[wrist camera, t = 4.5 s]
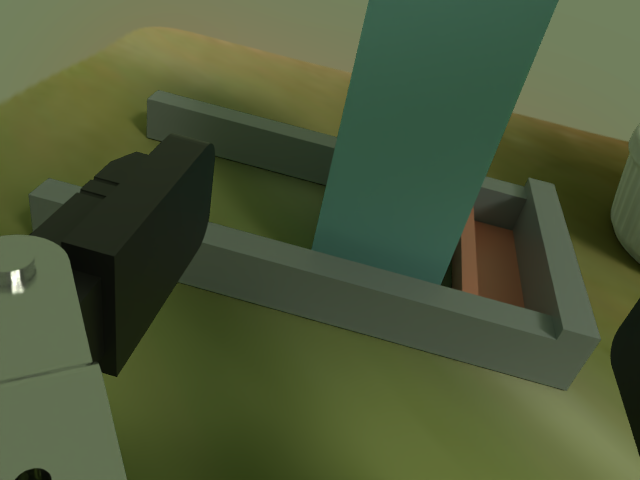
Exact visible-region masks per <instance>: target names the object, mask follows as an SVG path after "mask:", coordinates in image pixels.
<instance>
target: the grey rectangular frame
mask: <svg viewBox="0 0 640 480" xmlns="http://www.w3.org/2000/svg"><path fill="white" fill-rule="evenodd" d="M171 133H175V134H179V135H182V136H186V137H190V138H193V139H197V140H201V141H205V142H208V143H212V144H213V145H214V148H215V156H218V157H222V158H226V159H230V160H233V161H237V162H241V163H244V164H248V165H252V166H256V167H259V168H263V169H267V170H271V171H274V172H278V173H282V174H286V175H289V176H293V177H297V178H300V179H304V180H308V181H312V182H315V183H319V184H323V185H326V184H327V180H328V176H329V171H330V167H331V163H332V158H333V154H334V150H335V145H336V141H337V137H334V136H331V135H327V134H323V133H319V132H315V131H312V130H308V129H304V128H300V127H296V126H293V125H289V124H285V123H281V122H277V121H274V120H270V119H266V118H262V117H259V116H255V115H251V114H247V113H243V112H240V111H236V110H232V109H228V108H224V107H221V106H217V105H213V104H209V103H205V102H202V101H198V100H194V99H190V98H187V97H183V96H179V95H175V94H171V93H168V92H164V91H160V90H158V91H156V92H155V93H154V94H153V95H151V96H150V97H149V98H148V99H147V137H148V138H151V139H155V140H159V141H163V140H164V139H165V138H166V137H167V136H168V135H169V134H171ZM81 188H82V187H80V186H76V185H73V184H69V183H65V182H62V181H58V180H54V179H51V178H48V179H47V180H46V181H45V182H43V183H42V184H41V185H40V186H38V187H37V188H36V189H35V190H33V191H32V192H31V193H30V194H28V195H29V203H30V211H31V219H32V227H33V231H34V230H35V229H37V228H38V227H39V226H40V225H41V224H42V223H43V222H44V221H45V220H47V219H48V218H49V217H50V216H51V215H52V214H53V213H54V212H55V211H57V210H58V209H59V208H60V207H61V206H62V205H63V204H64V203H65V202H67V201H68V200H69V199H70V198H71V197H72V196H73V195H74V194H75V193H77V192H78V193H80V189H81ZM178 282H180V283H183V284H187V285H191V286H194V287H198V288H201V289H205V290H208V291H212V292H216V293H219V294H223V295H226V296H230V297H233V298H237V299H241V300H244V301H248V302H251V303H255V304H258V305H262V306H266V307H269V308H273V309H276V310H280V311H283V312H287V313H291V314H294V315H298V316H301V317H305V318H308V319H312V320H316V321H319V322H323V323H326V324H330V325H334V326H337V327H341V328H344V329H348V330H351V331H355V332H359V333H362V334H366V335H369V336H373V337H376V338H380V339H384V340H387V341H391V342H394V343H398V344H401V345H405V346H409V347H412V348H416V349H419V350H423V351H426V352H430V353H434V354H437V355H441V356H444V357H448V358H451V359H455V360H459V361H462V362H466V363H469V364H473V365H477V366H480V367H484V368H487V369H491V370H494V371H498V372H502V373H505V374H509V375H512V376H516V377H519V378H523V379H527V380H530V381H534V382H537V383H541V384H544V385H548V386H552V387H555V388H559V389H562V390H567V389H568V387H569V386H570V384H571V383H572V382H573V380H574V379H575V377H576V376H577V374H578V373H579V371H580V370H581V368H582V367H583V365H584V364H585V362H586V361H587V359H588V358H589V356H590V355H591V353H592V352H593V351H594V349H595V348H596V346H597V345H598V343H599V342H600V340H601V338H600V335H599V331H598V328H597V325H596V321H595V318H594V315H593V311H592V308H591V305H590V301H589V298H588V295H587V292H586V288H585V285H584V282H583V278H582V275H581V272H580V268H579V265H578V262H577V258H576V255H575V252H574V248H573V245H572V242H571V239H570V235H569V232H568V229H567V225H566V222H565V219H564V215H563V212H562V209H561V205H560V202H559V199H558V195H557V192H556V189H555V185H554V184H552V183H548V182H544V181H540V180H536V179H533V178H528V180H527V182H526V184H525V186H520V185H516V184H512V183H509V182H505V181H501V180H497V179H493V178H490V177H485V179H484V181H483V184H482V186H481V189H480V191H479V194H478V196H477V198H476V201H475V203H474V206H473V208H472V210H471V213H470V215H469V218H468V220H467V223H466V225H465V227H464V230H463V232H462V235H461V237H460V239H459V242H458V244H457V247H456V249H455V251H454V254H453V256H452V288H449V287H445V286H441V285H438V284H434V283H431V282H427V281H423V280H420V279H416V278H412V277H409V276H405V275H401V274H398V273H394V272H390V271H387V270H383V269H379V268H376V267H372V266H368V265H365V264H361V263H357V262H354V261H350V260H347V259H343V258H339V257H336V256H332V255H328V254H325V253H321V252H317V251H314V250H310V249H306V248H303V247H299V246H295V245H292V244H288V243H284V242H281V241H277V240H274V239H270V238H266V237H263V236H259V235H255V234H252V233H248V232H244V231H241V230H237V229H233V228H230V227H226V226H222V225H219V224H215V223H211V222H208V226H207V230H206V233H205V236H204V239H203V241H202V244H201V246H200V248H199V250H198V251H197V253H196V254H195V256H194V257H193V259H192V261H191V262H190V264H189V265H188V267H187V268H186V270H185V271H184V273H183V275H182V276H181V278H180V279H179V281H178Z"/></svg>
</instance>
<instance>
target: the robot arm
mask: <svg viewBox="0 0 640 480" xmlns="http://www.w3.org/2000/svg"><path fill="white" fill-rule="evenodd" d="M214 162H215V148H214V145H213V144H212V143H208V142H205V141H201V140H197V139H193V138H190V137H186V136H182V135H179V134H175V133H171V134H169V135H168V136H167V137H166V138H165V139H164V140H163V141H162V142H161V143H160V144H159V145H158V146H157V147H156V148H155V149H154V150H153V151H152V152H151V153H150V154H149V155H147V154H143V153H140V152H134V153H132V154H129V155H126V156H124V157H121V158H119V159H116V160H114V161H111V162H110V163H109V164H108V165H106V166H105V167H104V168H103V169H102V170H101V171H100V172H99V173H98V174H97V175H95V176H94V180H90V181H89V182H88V183H87V184H85V185H84V186H83V187H82V188H81V189H80V193H78V192H77V193H75V194H74V195H73V196H72V197H71V198H70V199H69V200H68V201H67V202H65V203H64V204H63V205H62V206H61V207H60V208H59V209H58V210H57V211H55V212H54V213H53V214H52V215H51V216H50V217H49V218H48V219H47V220H45V221H44V222H43V223H42V224H41V225H40V226H39V227H38V228H37V229H35V230H34V231H33V232H32V233H31V234H30V235H5V236H0V480H127V478H126V473H125V469H124V465H123V461H122V456H121V452H120V448H119V444H118V439H117V435H116V431H115V427H114V423H113V418H112V414H111V410H110V406H109V401H108V397H107V393H106V389H105V384H104V380H103V376H102V373H105V374H108V375H112V376H115V377H117V376H118V374H119V373H120V371H121V370H122V368H123V366H124V365H125V363H126V362H127V360H128V359H129V357H130V356H131V354H132V352H133V351H134V349H135V348H136V346H137V345H138V343H139V342H140V340H141V338H142V337H143V335H144V334H145V332H146V331H147V329H148V328H149V326H150V324H151V323H152V321H153V320H154V318H155V317H156V315H157V314H158V312H159V310H160V309H161V307H162V306H163V304H164V303H165V301H166V299H167V298H168V296H169V295H170V293H171V292H172V290H173V289H174V287H175V285H176V284H177V282H178V281H179V279H180V278H181V276H182V275H183V273H184V271H185V270H186V268H187V267H188V265H189V264H190V262H191V261H192V259H193V257H194V256H195V254H196V253H197V251H198V250H199V248H200V246H201V244H202V241H203V239H204V236H205V233H206V230H207V226H208V221H209V213H210V203H211V193H212V182H213V172H214ZM611 365H612V369H613V372H614V375H615V378H616V381H617V385H618V388H619V391H620V394H621V398H622V401H623V404H624V407H625V410H626V414H627V417H628V420H629V423H630V427H631V430H632V433H633V436H634V440H635V443H636V446H637V449H638V452H639V456H640V298H639V300H638V301H637V303H636V304H635V306H634V307H633V309H632V310H631V311H630V313H629V314H628V316H627V317H626V319H625V320H624V322H623V323H622V324H621V326H620V327H619V329H618V331H617V332H616V334H615V337H614V339H613V342H612V347H611Z"/></svg>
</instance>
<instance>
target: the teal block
mask: <svg viewBox="0 0 640 480" xmlns="http://www.w3.org/2000/svg"><path fill="white" fill-rule="evenodd" d="M557 3H558V0H369V3H368V7H367V11H366V15H365V19H364V24H363V28H362V32H361V37H360V41H359V46H358V50H357V54H356V59H355V63H354V67H353V72H352V76H351V80H350V85H349V89H348V93H347V98H346V102H345V106H344V111H343V115H342V119H341V124H340V128H339V132H338V137H337V141H336V145H335V150H334V154H333V158H332V163H331V167H330V171H329V176H328V180H327V184H326V189H325V193H324V197H323V202H322V206H321V210H320V215H319V219H318V223H317V228H316V232H315V237H314V241H313V245H312V250H314V251H317V252H321V253H325V254H328V255H332V256H336V257H339V258H343V259H347V260H350V261H354V262H357V263H361V264H365V265H368V266H372V267H376V268H379V269H383V270H387V271H390V272H394V273H398V274H401V275H405V276H409V277H412V278H416V279H420V280H423V281H427V282H431V283H434V284H438V285H441V283H442V280H443V278H444V276H445V273H446V271H447V268H448V266H449V264H450V261H451V259H452V256H453V254H454V251H455V249H456V247H457V244H458V242H459V239H460V237H461V235H462V232H463V230H464V227H465V225H466V223H467V220H468V218H469V215H470V213H471V210H472V208H473V206H474V203H475V201H476V198H477V196H478V194H479V191H480V189H481V186H482V184H483V181H484V179H485V177H486V174H487V172H488V169H489V167H490V165H491V162H492V160H493V157H494V155H495V152H496V150H497V148H498V145H499V143H500V140H501V138H502V136H503V133H504V131H505V128H506V126H507V123H508V121H509V119H510V116H511V114H512V111H513V109H514V106H515V104H516V102H517V99H518V97H519V95H520V92H521V90H522V87H523V85H524V82H525V80H526V78H527V75H528V73H529V70H530V68H531V65H532V63H533V61H534V58H535V56H536V53H537V51H538V49H539V46H540V44H541V41H542V39H543V37H544V34H545V32H546V29H547V27H548V24H549V22H550V19H551V17H552V15H553V12H554V10H555V8H556V5H557Z"/></svg>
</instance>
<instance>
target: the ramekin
mask: <svg viewBox="0 0 640 480" xmlns="http://www.w3.org/2000/svg"><path fill="white" fill-rule="evenodd" d="M629 152H630V154H629V156H628V159H627V162H626V165H625V168H624V170H623V173H622V176H621V179H620V182H619V185H618V188H617V191H616V194H615V198H614V201H613V204H612V208H611V221H612V224H613V227H614V231H615V234H616V236H617V238H618V240H619V242H620V243H621V245H622V246H623V247H624V249H625V250H626V251H627V252H628V253H629V254H630V255H631V256H632V257H633V258H634V259H635V260H636V261H637V262H638V263H639V264H640V124H639V125H638V126H637V127H636V129H635V131H634V132H633V134H632V136H631V138H630V140H629Z"/></svg>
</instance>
